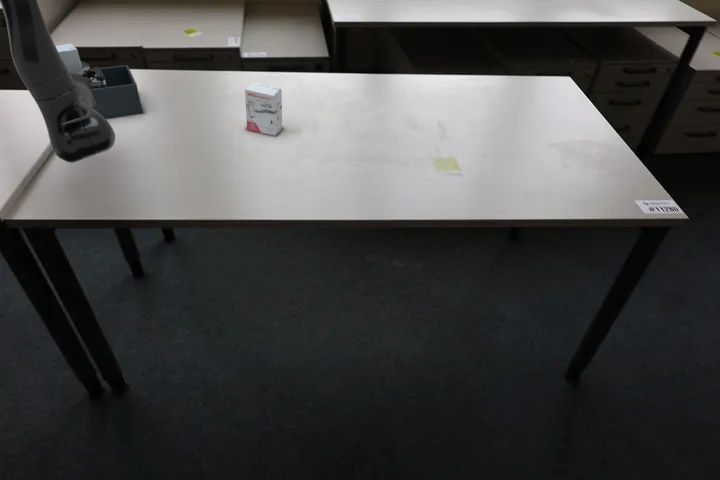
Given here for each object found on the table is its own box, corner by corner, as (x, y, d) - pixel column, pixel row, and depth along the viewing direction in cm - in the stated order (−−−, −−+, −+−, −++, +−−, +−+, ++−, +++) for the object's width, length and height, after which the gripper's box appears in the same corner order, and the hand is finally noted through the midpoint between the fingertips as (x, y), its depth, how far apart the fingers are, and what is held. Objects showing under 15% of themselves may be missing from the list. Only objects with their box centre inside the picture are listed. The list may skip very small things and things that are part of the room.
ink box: (245, 129, 139) (242, 88, 131) (253, 121, 143) (251, 80, 135) (275, 136, 138) (274, 95, 130) (282, 128, 141) (282, 87, 133)
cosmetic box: (87, 94, 120) (71, 42, 113) (93, 101, 118) (77, 48, 110) (59, 100, 117) (41, 47, 110) (64, 107, 115) (47, 53, 107)
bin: (90, 120, 136) (81, 91, 131) (84, 99, 144) (75, 70, 139) (142, 113, 141) (136, 84, 136) (133, 92, 150) (127, 64, 144)
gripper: (107, 77, 104) (96, 47, 115) (26, 86, 99) (23, 54, 109) (116, 111, 109) (104, 79, 120) (39, 121, 103) (35, 87, 114)
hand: (66, 67), depth 115 cm, fingers closed on cosmetic box, 6 cm apart
